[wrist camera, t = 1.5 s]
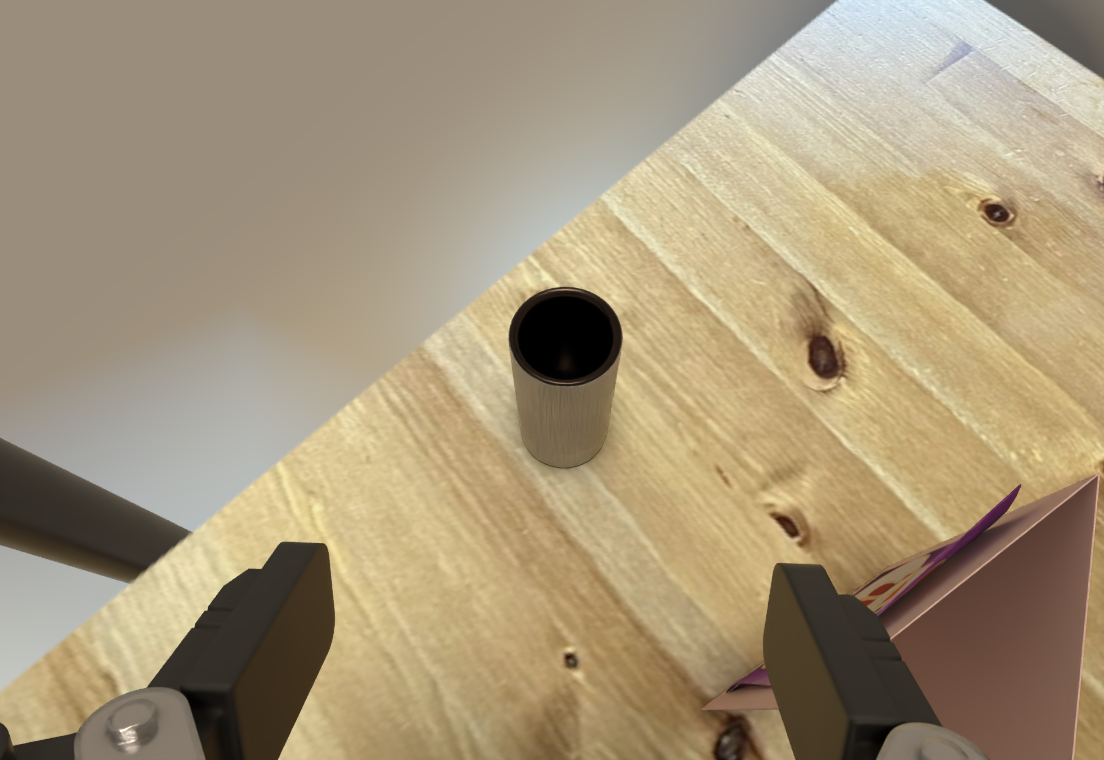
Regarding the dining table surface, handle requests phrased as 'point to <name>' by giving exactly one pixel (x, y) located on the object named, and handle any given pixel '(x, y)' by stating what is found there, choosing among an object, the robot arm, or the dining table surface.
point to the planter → (564, 373)
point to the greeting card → (989, 626)
